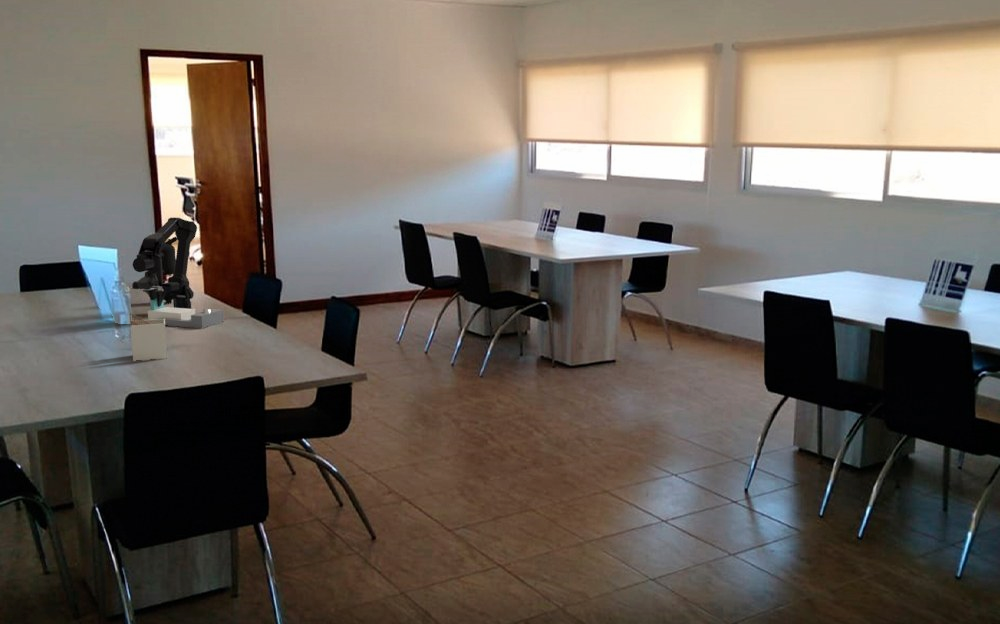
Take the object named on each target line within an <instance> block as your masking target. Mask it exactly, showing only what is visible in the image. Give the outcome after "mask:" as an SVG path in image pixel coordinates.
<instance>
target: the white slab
mask: <svg viewBox="0 0 1000 624" xmlns="http://www.w3.org/2000/svg"><path fill="white" fill-rule="evenodd" d="M149 303H150V305H149V306H150V309H149V310H147V320H152V319H158V318H169V319H182V320H190V319H191V315H193V314H196V308H191V309H186V308H174V306H172V307H171V306H165V304H164V301H163V302H162V304H161V306H160V307H158V304H157V299H153V300H151V299H150V302H149Z"/></svg>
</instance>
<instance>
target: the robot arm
mask: <svg viewBox="0 0 1000 624" xmlns="http://www.w3.org/2000/svg"><path fill="white" fill-rule="evenodd" d="M197 231H198V226H197V224H196V223H195V222H194V221H191V220H187V219H183V218H180V217H169V218H168V219H167V221H166V222H165V223H164V224H163V225H162V226H161V227H160V228H159V229H158V230H157V231H156V232H155V233H153V234H149V235H148V236H146V237H144V239H143V240H142V243H141V245H140V248H139V251H138V253H137V254H136V258H135V259H134V260H133V262H132V268H133V270H134V271H136V272H137V273H142V272H144V276H143V277H141V278H140V279H139V280H137V281H133V283H132V284H131V288H132V290H142V292H144V293H146V294H147V295H148V298H150V300H153V299H157V304H158V307H160V306H161V304H162V302H164V300H163V299H164V297H165V295H166V293H167V291H168V294H169V297H170V298H173V300H172V304H173V308H186V309H192V301H191V300H192V299H193V298H194V295H195V292H194V291H193V290H192V288H191V287H190V280H189V279H188V276H187V272H188V263H189V255H190V249H191V248H190V247H191V243H192V241H194V239H195V237H196V234H197ZM173 234H174V235H175V237H177V239H178V240H177V247H176V253H175V256H176V262H175V270H174V274H173V275H171V276H168V277H167V279H168V281H167V282H166V281H165V280H164V276H163V274H162V273H164V270H162V259H161V257H162V256H164V254H163V253H161V251H162V250H163V248H164V247H165V242H167V241H168V239H170V237H171V236H172V235H173ZM163 283H164V284H163Z"/></svg>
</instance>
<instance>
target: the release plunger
mask: <svg viewBox="0 0 1000 624" xmlns="http://www.w3.org/2000/svg"><path fill="white" fill-rule="evenodd" d="M202 312H203V313H211V308H203V311H202Z"/></svg>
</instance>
